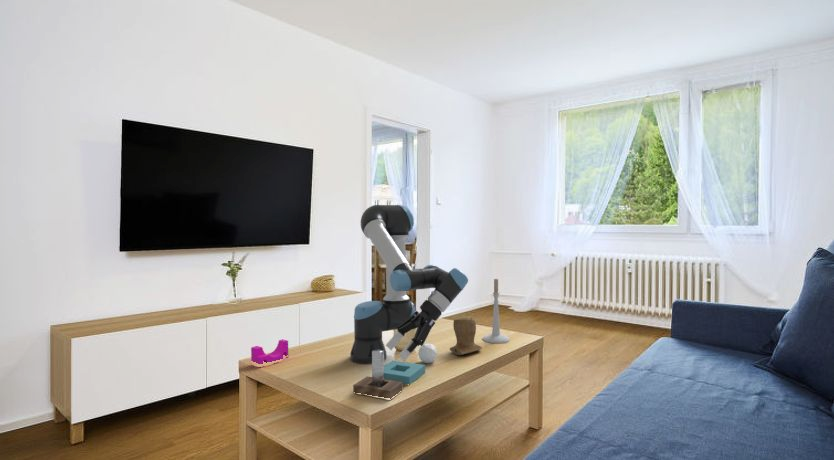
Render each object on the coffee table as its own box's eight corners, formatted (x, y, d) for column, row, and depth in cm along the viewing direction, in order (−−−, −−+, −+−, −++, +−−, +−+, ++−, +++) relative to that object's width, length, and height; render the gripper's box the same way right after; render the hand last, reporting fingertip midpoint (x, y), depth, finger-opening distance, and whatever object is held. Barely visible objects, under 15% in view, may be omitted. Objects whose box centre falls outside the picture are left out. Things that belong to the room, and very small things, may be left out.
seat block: (374, 379, 164) (374, 371, 164) (392, 367, 176) (392, 360, 176) (409, 385, 158) (409, 376, 158) (425, 372, 171) (425, 365, 171)
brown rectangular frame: (353, 393, 150) (353, 384, 150) (367, 384, 159) (367, 376, 159) (390, 400, 145) (390, 391, 145) (402, 390, 153) (402, 382, 153)
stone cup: (465, 345, 207) (465, 313, 207) (485, 351, 198) (485, 317, 198) (442, 352, 197) (442, 318, 197) (462, 358, 188) (462, 323, 188)
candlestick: (478, 341, 215) (478, 278, 214) (488, 335, 226) (488, 275, 225) (503, 344, 208) (503, 280, 208) (513, 338, 219) (513, 277, 219)
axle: (370, 393, 151) (369, 352, 150) (376, 389, 154) (375, 348, 154) (380, 395, 149) (380, 353, 149) (386, 391, 153) (386, 350, 152)
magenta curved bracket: (260, 368, 177) (260, 350, 176) (251, 365, 180) (251, 347, 180) (292, 359, 188) (291, 341, 188) (282, 356, 192) (282, 339, 192)
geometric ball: (430, 367, 185) (440, 350, 187) (430, 366, 178) (440, 349, 180) (415, 357, 187) (425, 340, 189) (413, 355, 179) (424, 338, 181)
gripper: (414, 293, 169) (376, 337, 164) (442, 305, 146) (398, 356, 141) (427, 306, 171) (390, 350, 166) (457, 320, 148) (414, 370, 143)
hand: (394, 353), depth 153 cm, fingers open, 13 cm apart
